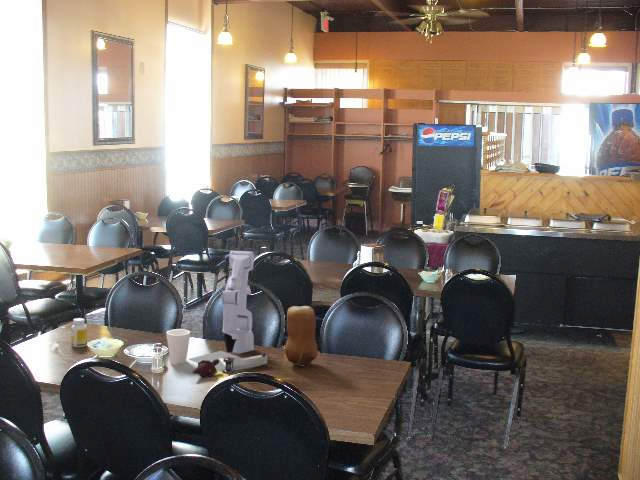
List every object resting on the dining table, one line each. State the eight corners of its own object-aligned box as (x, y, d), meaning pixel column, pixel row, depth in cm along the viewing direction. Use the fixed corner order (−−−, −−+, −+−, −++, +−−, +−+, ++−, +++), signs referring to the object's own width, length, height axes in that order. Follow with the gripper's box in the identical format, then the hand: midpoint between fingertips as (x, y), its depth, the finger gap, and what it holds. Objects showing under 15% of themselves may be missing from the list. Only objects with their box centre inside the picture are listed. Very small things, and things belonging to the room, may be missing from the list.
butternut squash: (295, 358, 331) (297, 300, 327) (323, 364, 324) (325, 305, 320) (277, 366, 319) (279, 306, 315) (305, 372, 312) (308, 312, 309)
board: (221, 352, 335) (221, 350, 335) (262, 366, 318) (262, 365, 318) (187, 360, 322) (187, 359, 322) (229, 375, 305) (229, 374, 305)
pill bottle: (90, 345, 338) (90, 319, 336) (78, 348, 332) (78, 322, 331) (80, 342, 341) (79, 316, 340) (68, 345, 336) (67, 319, 334)
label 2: (236, 367, 313) (236, 366, 313) (226, 368, 312) (226, 367, 312) (231, 363, 319) (232, 361, 319) (222, 363, 317) (222, 362, 317)
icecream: (202, 368, 293) (226, 361, 306) (188, 359, 297) (212, 353, 310) (198, 384, 295) (222, 377, 308) (183, 376, 298) (208, 369, 311)
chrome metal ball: (228, 370, 312) (228, 359, 311) (236, 373, 308) (237, 362, 308) (219, 372, 308) (219, 362, 307) (227, 375, 305) (227, 364, 304)
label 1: (232, 363, 319) (232, 361, 319) (222, 363, 317) (222, 362, 317) (228, 358, 324) (228, 357, 324) (218, 359, 323) (218, 358, 323)
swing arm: (226, 371, 305) (226, 360, 305) (221, 368, 308) (221, 358, 308) (268, 364, 317) (268, 353, 316) (262, 361, 320) (263, 351, 319)
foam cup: (184, 367, 313) (184, 336, 311) (162, 365, 315) (163, 334, 313) (192, 360, 322) (193, 330, 320) (171, 358, 324) (172, 328, 322)
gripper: (245, 323, 307) (244, 356, 309) (234, 314, 321) (234, 346, 323) (227, 324, 305) (227, 357, 307) (218, 315, 318) (217, 347, 320)
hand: (229, 351), depth 315 cm, fingers closed
